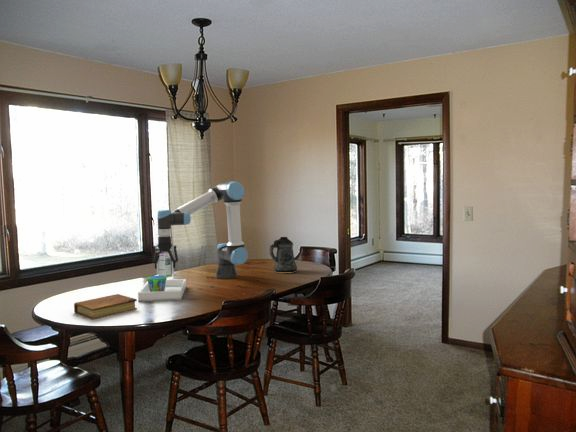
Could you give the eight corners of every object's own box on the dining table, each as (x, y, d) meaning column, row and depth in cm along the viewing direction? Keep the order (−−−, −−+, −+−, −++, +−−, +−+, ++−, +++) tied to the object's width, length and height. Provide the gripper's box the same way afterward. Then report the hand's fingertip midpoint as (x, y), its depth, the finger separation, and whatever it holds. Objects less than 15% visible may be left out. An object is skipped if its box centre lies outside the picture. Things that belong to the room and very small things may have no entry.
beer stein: (301, 271, 331) (301, 236, 329) (285, 275, 315) (285, 239, 313) (282, 268, 340) (282, 235, 339) (266, 273, 324) (266, 238, 323)
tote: (185, 287, 281) (185, 279, 281) (180, 300, 249) (180, 291, 249) (148, 288, 278) (148, 280, 278) (138, 301, 246) (138, 292, 246)
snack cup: (151, 291, 265) (150, 274, 264) (169, 291, 265) (169, 274, 264) (144, 298, 249) (143, 280, 248) (163, 298, 250) (163, 279, 249)
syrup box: (165, 278, 269) (164, 253, 268) (158, 277, 272) (157, 253, 271) (172, 276, 274) (172, 252, 273) (165, 275, 277) (165, 252, 276)
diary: (117, 304, 244) (117, 293, 243) (137, 310, 232) (136, 299, 231) (74, 313, 226) (74, 302, 226) (93, 320, 214) (92, 308, 214)
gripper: (145, 236, 266) (146, 275, 268) (181, 236, 269) (182, 274, 271) (147, 235, 274) (148, 273, 275) (183, 234, 277) (183, 272, 278)
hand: (165, 273), depth 273 cm, fingers closed on syrup box, 8 cm apart
